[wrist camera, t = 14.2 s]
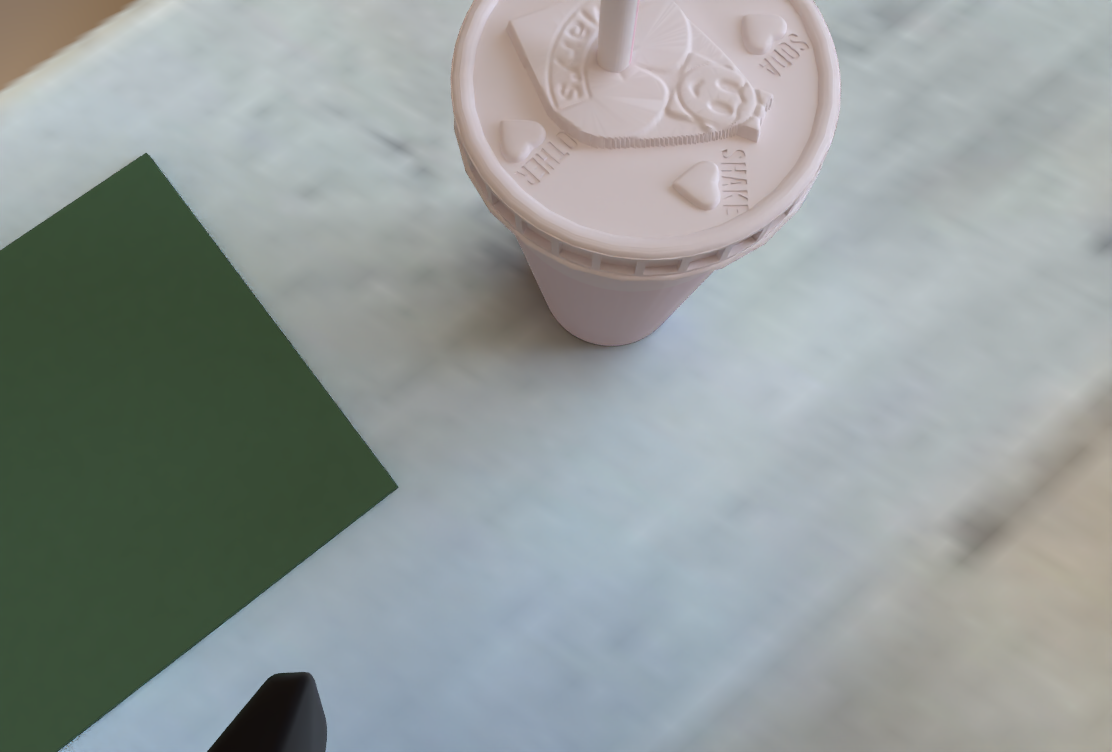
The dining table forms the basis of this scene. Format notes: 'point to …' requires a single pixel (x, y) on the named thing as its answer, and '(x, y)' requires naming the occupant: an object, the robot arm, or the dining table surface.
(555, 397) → the dining table surface
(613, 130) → the smoothie
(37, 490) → the cloth
